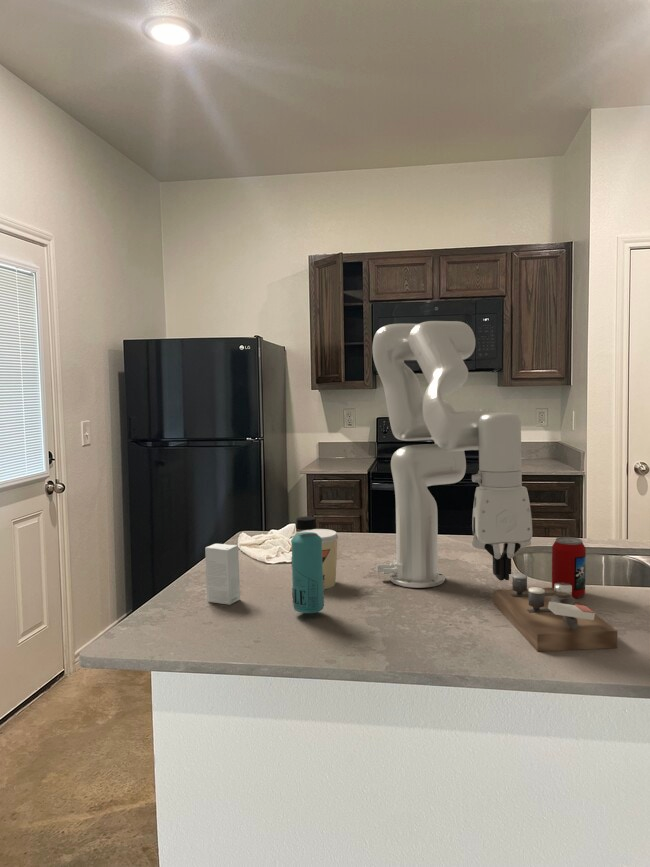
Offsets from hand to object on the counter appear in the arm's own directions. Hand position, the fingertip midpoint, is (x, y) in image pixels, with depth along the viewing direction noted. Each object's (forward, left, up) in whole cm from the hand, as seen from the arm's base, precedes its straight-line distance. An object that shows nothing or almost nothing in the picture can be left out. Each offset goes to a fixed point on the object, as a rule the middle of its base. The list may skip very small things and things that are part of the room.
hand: (502, 578), depth 123 cm
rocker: (+10, -7, -5) cm, 13 cm away
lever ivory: (+7, +1, -7) cm, 10 cm away
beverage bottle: (-36, +12, -10) cm, 39 cm away
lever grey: (+7, +10, -7) cm, 14 cm away
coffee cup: (-33, +32, -10) cm, 47 cm away
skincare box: (-54, +23, -10) cm, 59 cm away
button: (+14, +5, -6) cm, 16 cm away
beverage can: (+20, +18, -10) cm, 29 cm away
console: (+10, +2, -10) cm, 14 cm away
